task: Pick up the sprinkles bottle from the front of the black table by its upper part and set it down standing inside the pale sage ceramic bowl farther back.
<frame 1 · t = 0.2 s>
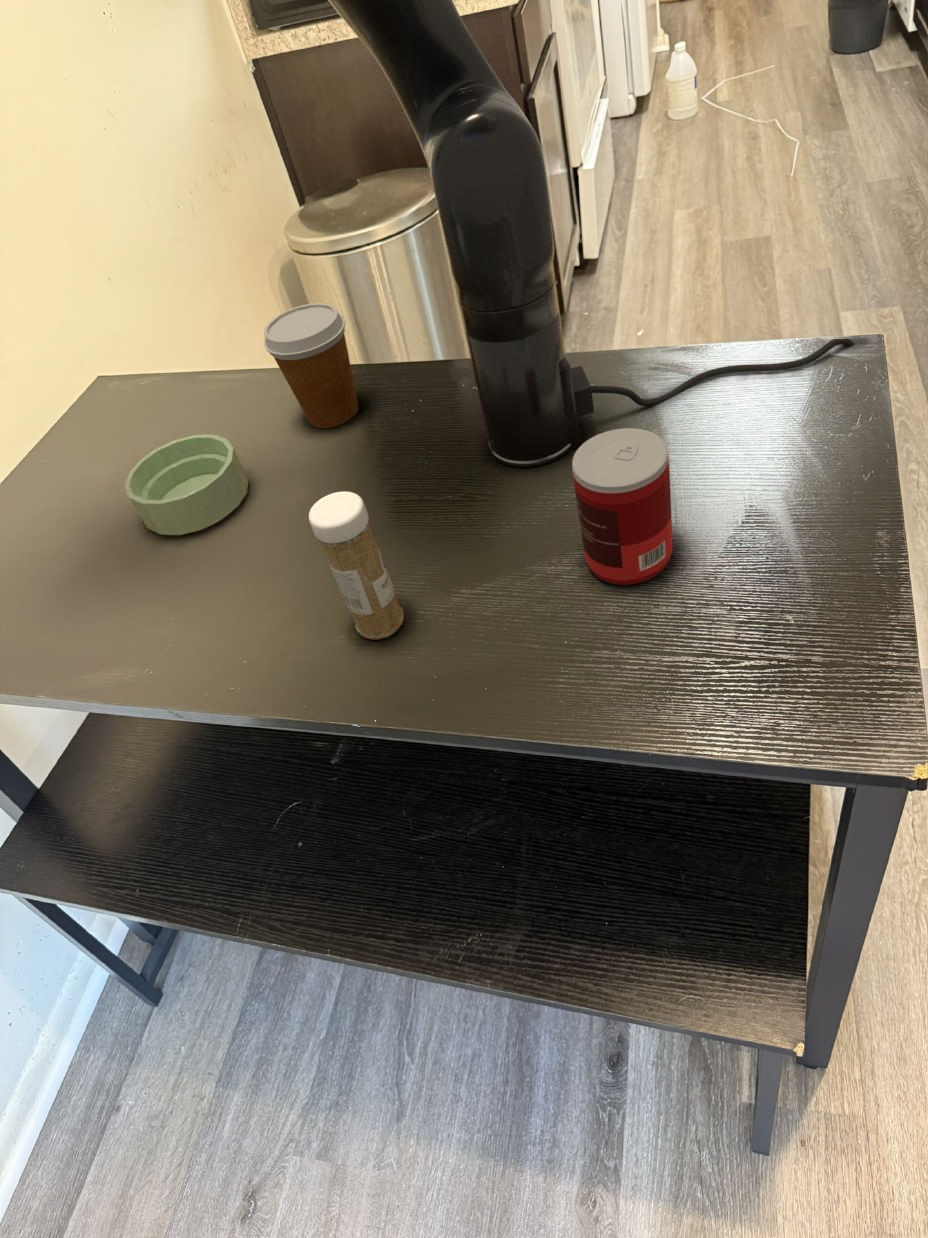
canned food: (629, 558, 77), on the table
bowl: (198, 503, 98), on the table
disposable coffee cup: (334, 414, 105), on the table
sprinkles bottle: (381, 624, 78), on the table
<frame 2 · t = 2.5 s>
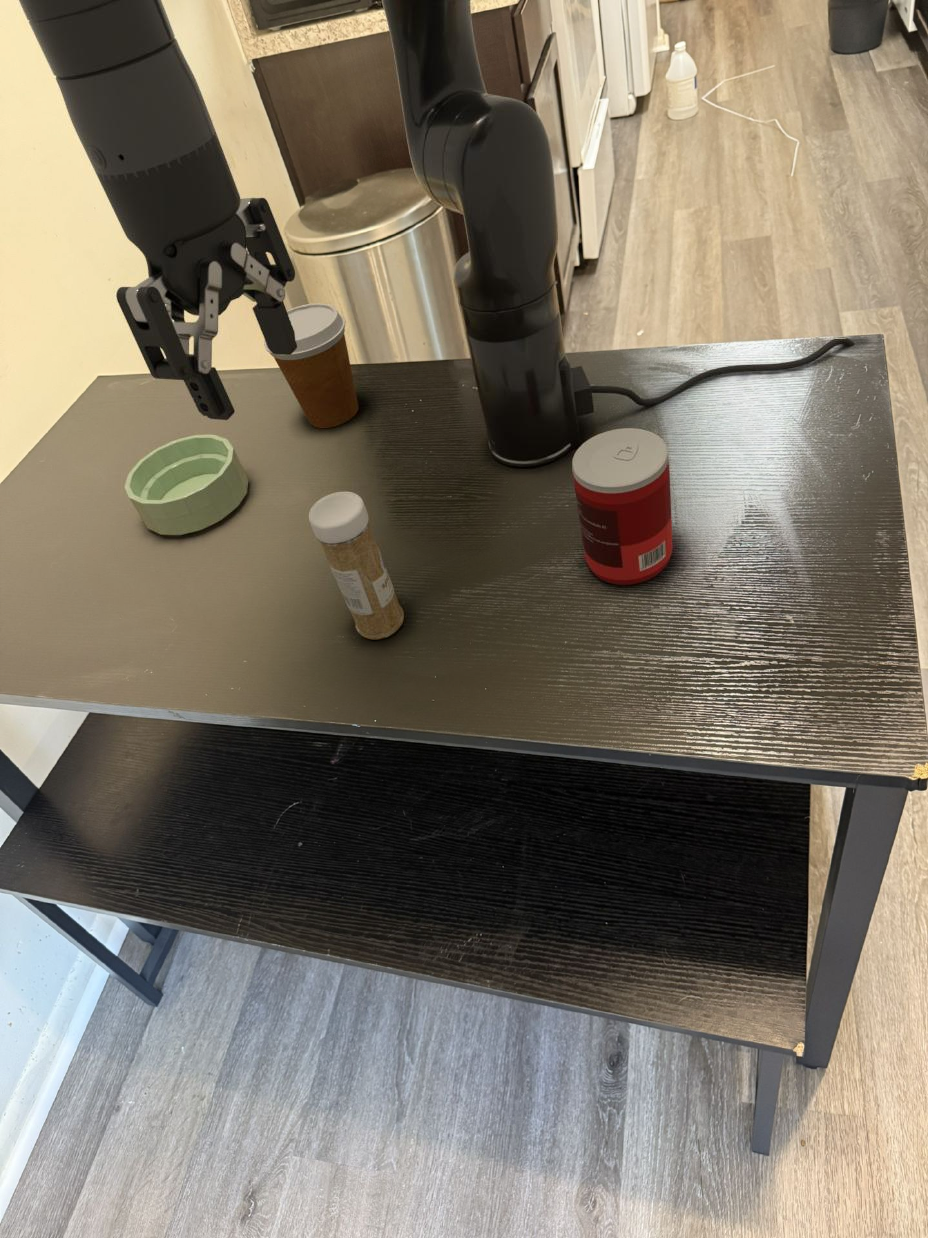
hand: (254, 382, 63), 24 cm above the table, tool pointing down, fingers open, 8 cm apart
nothing on the table moved.
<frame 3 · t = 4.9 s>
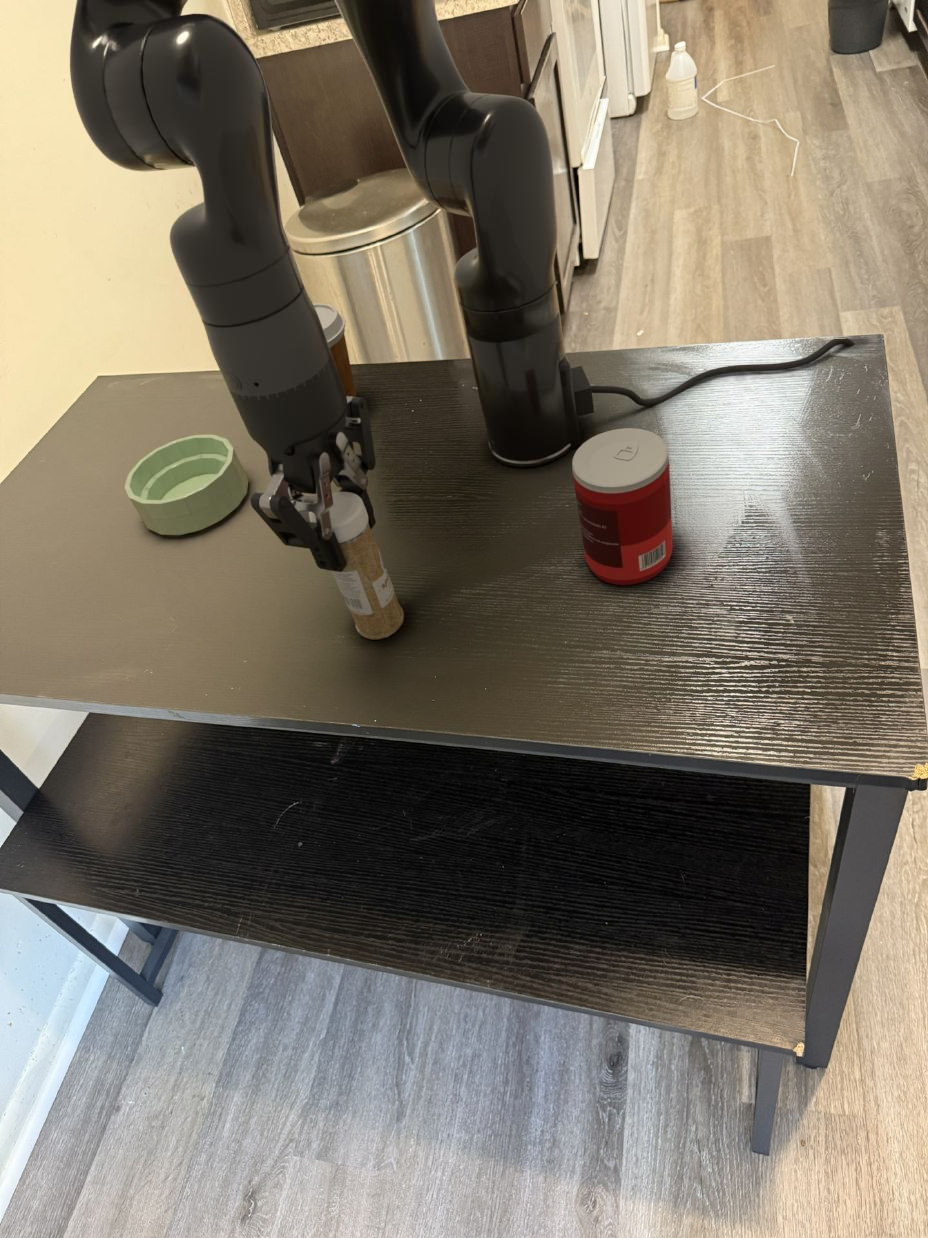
hand: (349, 545, 71), 9 cm above the table, tool pointing down, fingers closed on sprinkles bottle, 4 cm apart
sprinkles bottle: (381, 624, 78), on the table, touching gripper
everything else where it was.
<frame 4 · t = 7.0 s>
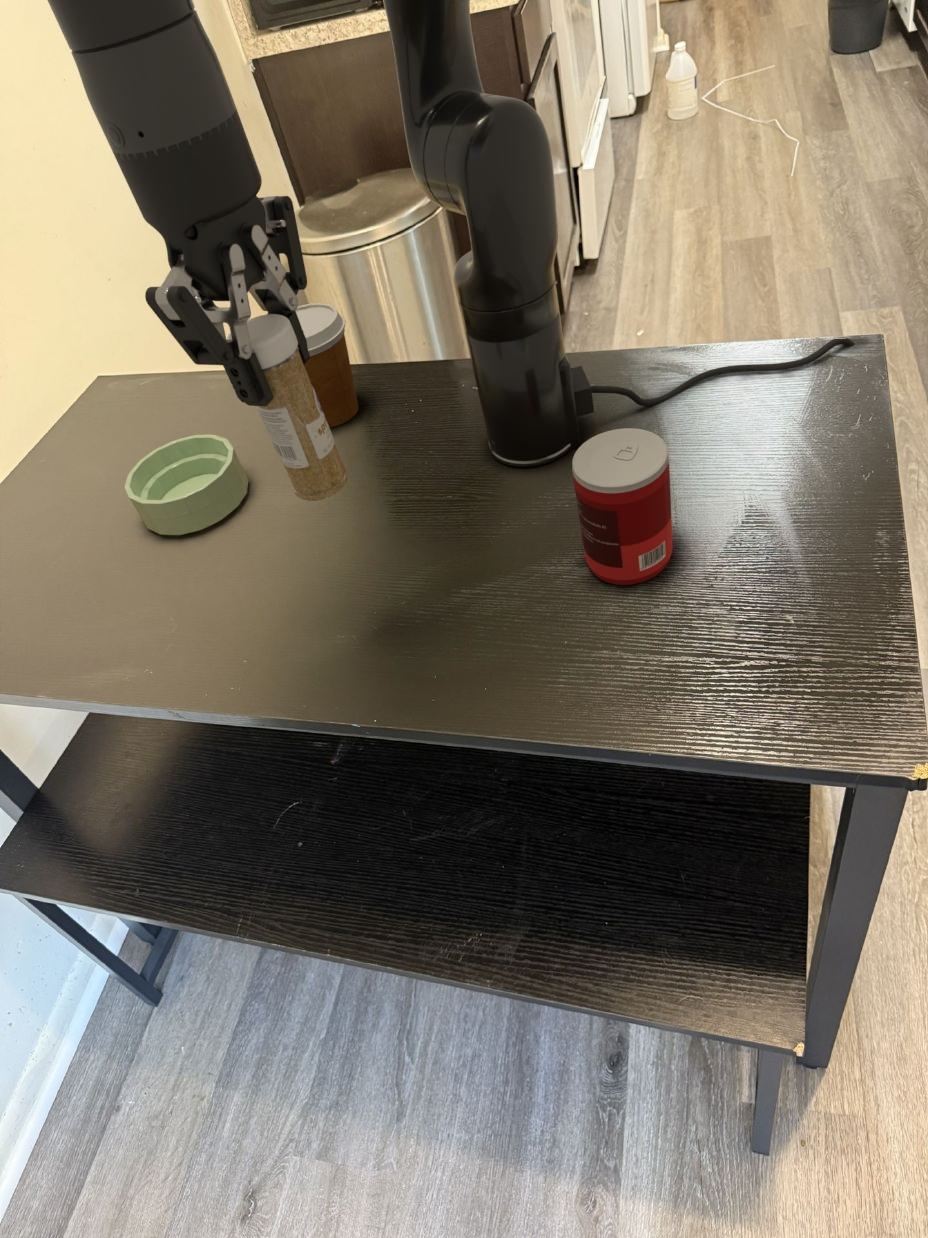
hand: (278, 380, 61), 25 cm above the table, tool pointing down, fingers closed on sprinkles bottle, 4 cm apart
sprinkles bottle: (322, 486, 68), point 15 cm above the table, touching gripper
everything else where it was.
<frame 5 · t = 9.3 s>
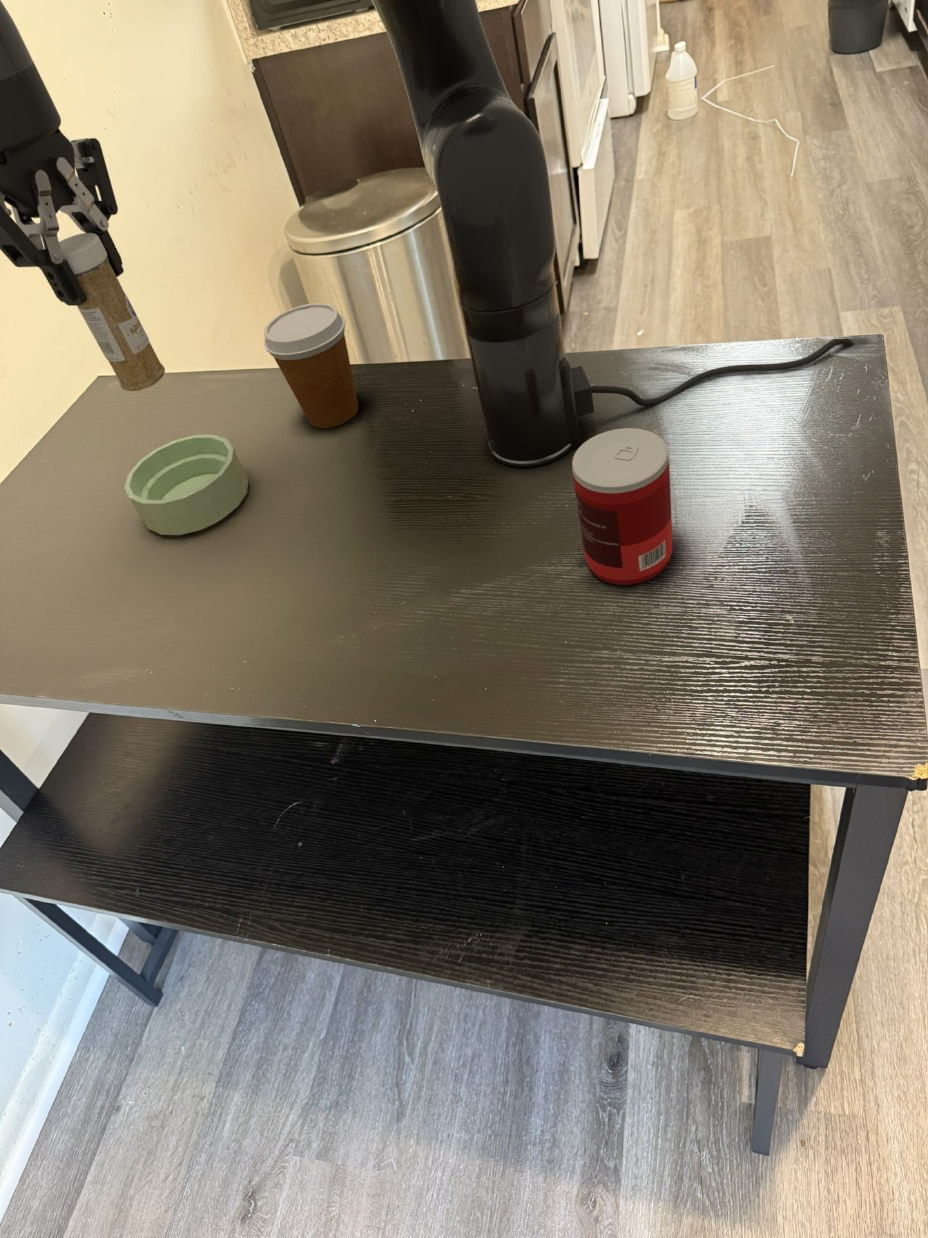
hand: (95, 287, 77), 26 cm above the table, tool pointing down, fingers closed on sprinkles bottle, 4 cm apart
sprinkles bottle: (144, 381, 84), point 17 cm above the table, touching gripper
everything else where it was.
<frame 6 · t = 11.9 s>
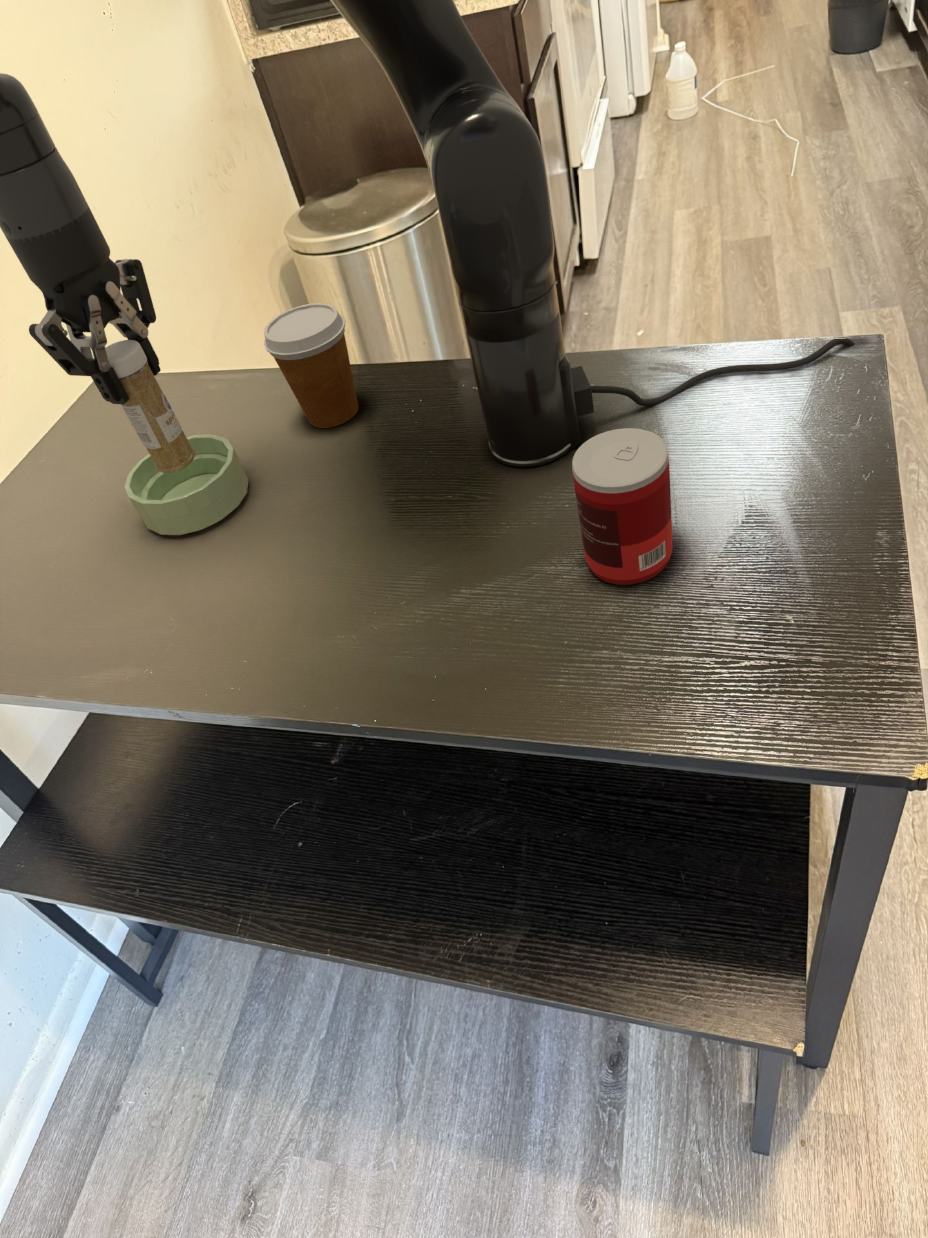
hand: (136, 386, 87), 15 cm above the table, tool pointing down, fingers closed on sprinkles bottle, 4 cm apart
sprinkles bottle: (177, 463, 94), point 6 cm above the table, touching gripper
everything else where it was.
when the fingers open (10 cm above the table, at t = 13.6 s): sprinkles bottle stays where it is, resting on bowl.
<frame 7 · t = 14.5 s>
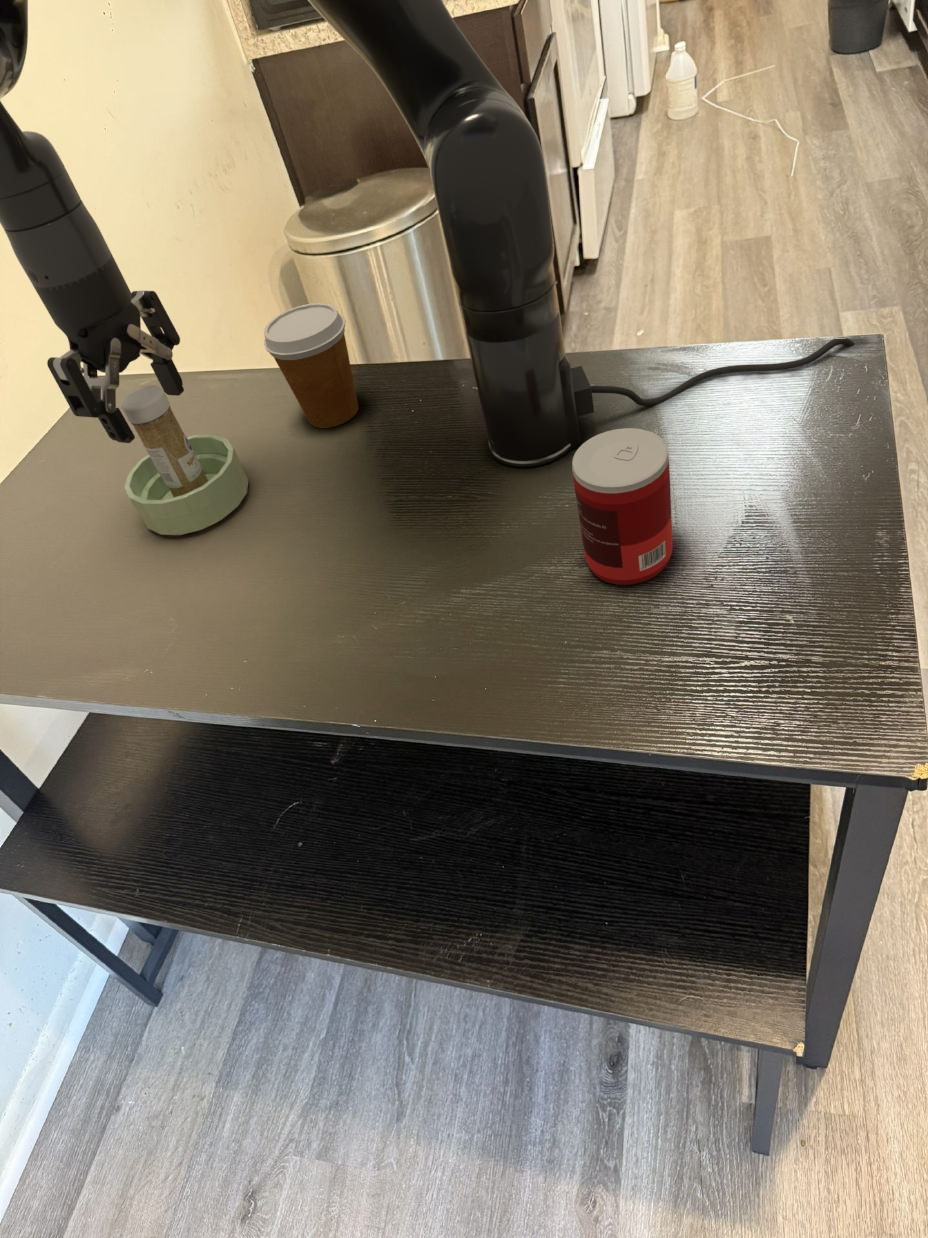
hand: (151, 416, 90), 12 cm above the table, tool pointing down, fingers open, 8 cm apart
sprinkles bottle: (197, 500, 97), resting on bowl
everything else where it was.
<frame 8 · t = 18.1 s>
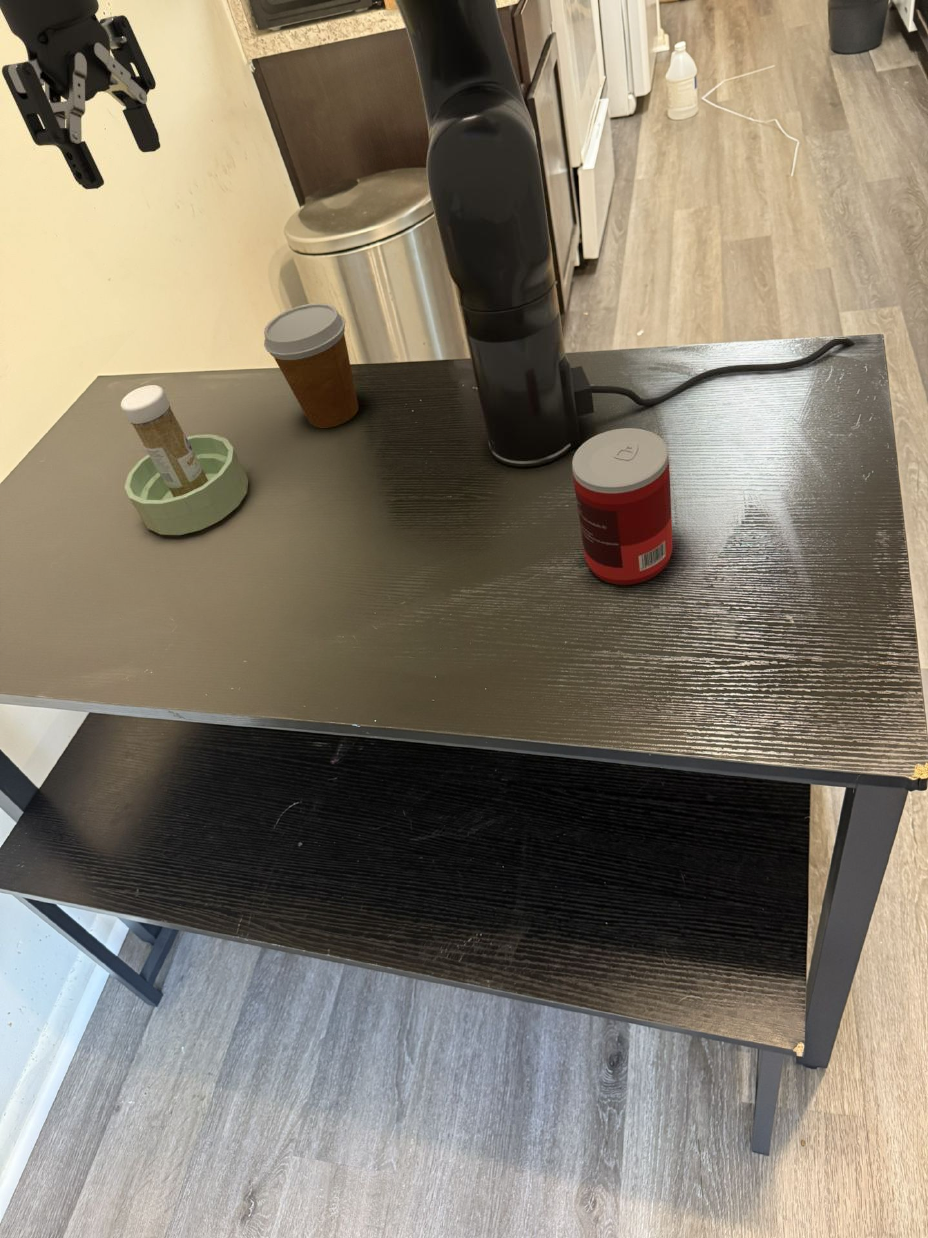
hand: (124, 167, 81), 32 cm above the table, tool pointing down, fingers open, 8 cm apart
nothing on the table moved.
at the end: sprinkles bottle inside the target area in the bowl (0.0 cm from its centre), point 0.4 cm above the bowl's base; sprinkles bottle tilted 0° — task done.
